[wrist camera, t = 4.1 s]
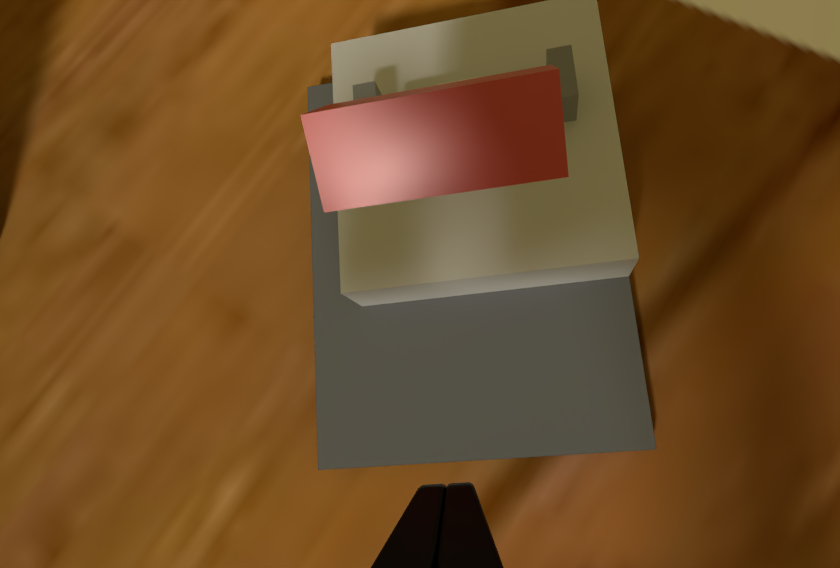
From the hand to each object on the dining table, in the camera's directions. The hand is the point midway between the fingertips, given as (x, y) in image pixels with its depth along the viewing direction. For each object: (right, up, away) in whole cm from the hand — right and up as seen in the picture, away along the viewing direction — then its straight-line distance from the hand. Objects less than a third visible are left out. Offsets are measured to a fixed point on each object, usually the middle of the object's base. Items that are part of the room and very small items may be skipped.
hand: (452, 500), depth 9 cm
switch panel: (+1, +5, +15) cm, 15 cm away
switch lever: (+1, +10, +11) cm, 15 cm away
